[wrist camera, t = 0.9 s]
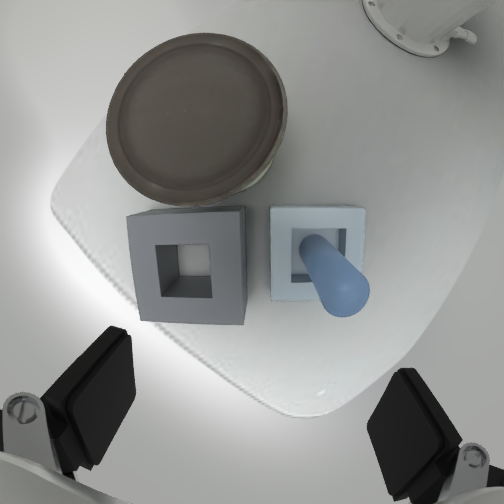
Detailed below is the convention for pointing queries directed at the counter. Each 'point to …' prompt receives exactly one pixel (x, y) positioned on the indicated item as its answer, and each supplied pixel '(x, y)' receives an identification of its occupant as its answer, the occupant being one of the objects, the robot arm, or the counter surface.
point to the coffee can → (196, 119)
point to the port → (189, 287)
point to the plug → (333, 277)
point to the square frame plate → (300, 226)
